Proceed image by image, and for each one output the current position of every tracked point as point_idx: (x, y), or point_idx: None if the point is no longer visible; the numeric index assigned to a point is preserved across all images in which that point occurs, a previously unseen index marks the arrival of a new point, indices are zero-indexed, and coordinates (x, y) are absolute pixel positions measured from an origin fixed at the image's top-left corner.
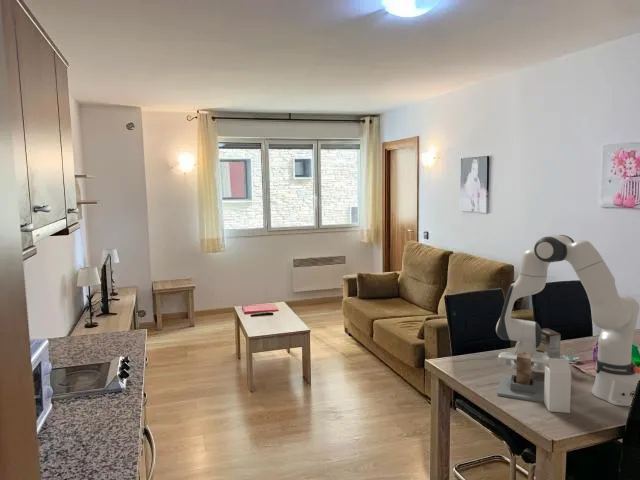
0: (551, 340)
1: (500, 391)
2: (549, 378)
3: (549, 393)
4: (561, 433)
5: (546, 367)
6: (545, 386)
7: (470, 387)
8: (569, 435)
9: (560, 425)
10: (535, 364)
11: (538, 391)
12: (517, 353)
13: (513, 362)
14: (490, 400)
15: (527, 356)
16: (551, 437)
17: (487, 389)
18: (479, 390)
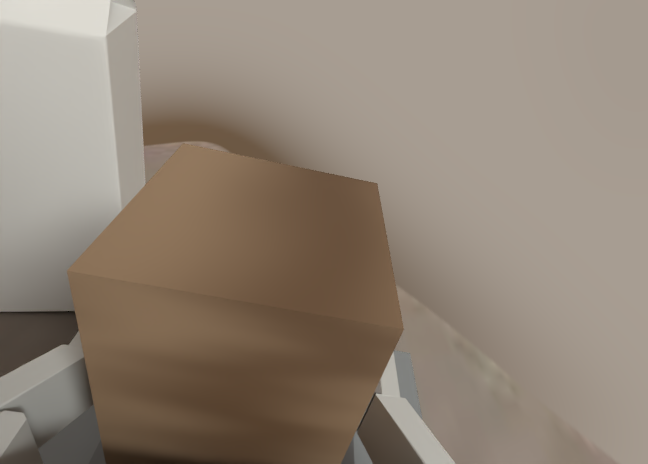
0: None
1: (398, 377)
2: (137, 62)
3: (143, 152)
4: (170, 152)
5: (115, 26)
6: (127, 190)
7: (599, 450)
8: (149, 146)
9: (150, 176)
10: (13, 381)
11: (91, 447)
12: (394, 300)
13: (400, 414)
14: (420, 305)
15: (202, 194)
16: (210, 144)
17: (491, 445)
18: (525, 414)
